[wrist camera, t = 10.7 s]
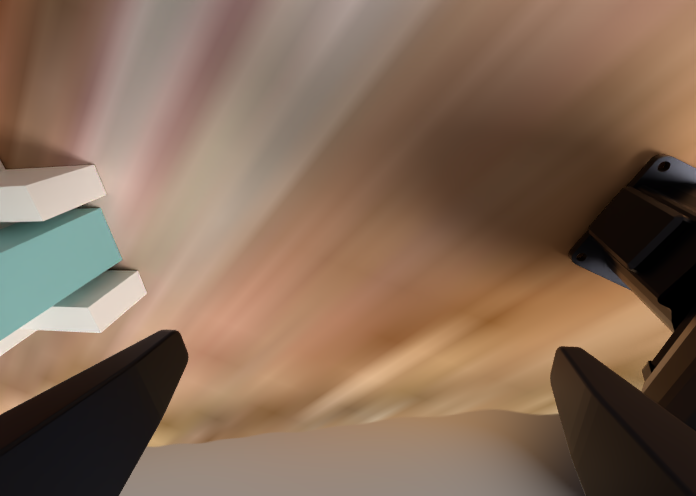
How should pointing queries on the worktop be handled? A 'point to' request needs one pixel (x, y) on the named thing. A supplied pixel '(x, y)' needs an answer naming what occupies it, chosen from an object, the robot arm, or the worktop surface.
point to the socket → (49, 201)
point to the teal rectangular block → (50, 262)
